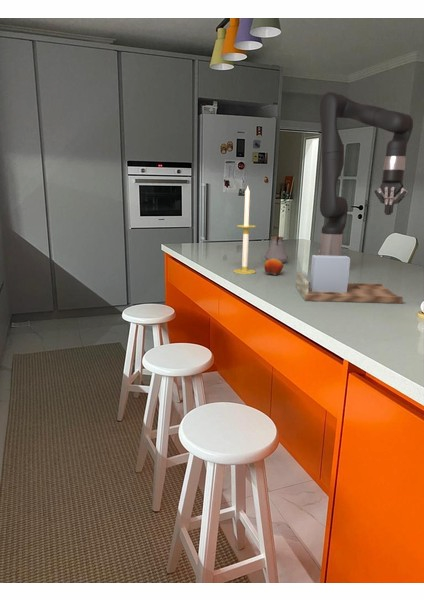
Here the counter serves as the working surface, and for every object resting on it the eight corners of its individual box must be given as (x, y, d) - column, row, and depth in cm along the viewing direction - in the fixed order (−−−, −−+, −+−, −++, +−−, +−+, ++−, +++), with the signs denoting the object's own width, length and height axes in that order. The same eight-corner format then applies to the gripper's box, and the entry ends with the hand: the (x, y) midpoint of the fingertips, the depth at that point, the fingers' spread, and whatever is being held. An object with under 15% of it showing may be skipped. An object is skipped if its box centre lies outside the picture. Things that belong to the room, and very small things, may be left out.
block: (312, 291, 148) (315, 257, 144) (309, 288, 152) (312, 255, 149) (346, 292, 147) (350, 258, 144) (343, 289, 152) (346, 255, 149)
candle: (228, 271, 188) (231, 184, 178) (243, 268, 195) (246, 184, 185) (245, 275, 181) (249, 184, 172) (260, 272, 188) (264, 185, 178)
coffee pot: (264, 260, 219) (266, 231, 216) (286, 261, 218) (288, 232, 214) (263, 267, 199) (265, 235, 195) (288, 268, 197) (290, 236, 194)
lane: (305, 300, 141) (306, 282, 139) (295, 287, 160) (297, 271, 159) (401, 303, 140) (404, 285, 138) (381, 289, 159) (383, 273, 158)
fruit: (260, 272, 179) (264, 255, 181) (264, 279, 187) (267, 262, 189) (279, 274, 177) (282, 256, 178) (282, 280, 184) (285, 263, 186)
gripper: (373, 168, 164) (367, 214, 169) (408, 168, 156) (401, 216, 160) (380, 169, 170) (375, 213, 174) (415, 169, 161) (408, 215, 166)
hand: (388, 214), depth 167 cm, fingers closed
